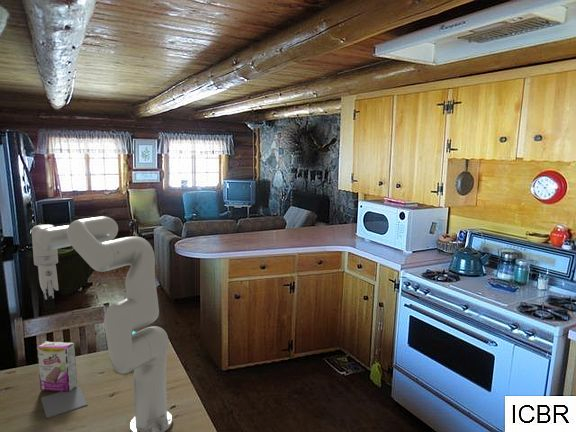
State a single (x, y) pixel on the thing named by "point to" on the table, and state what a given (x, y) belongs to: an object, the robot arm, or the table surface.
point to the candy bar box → (57, 366)
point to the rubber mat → (63, 402)
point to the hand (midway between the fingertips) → (49, 307)
